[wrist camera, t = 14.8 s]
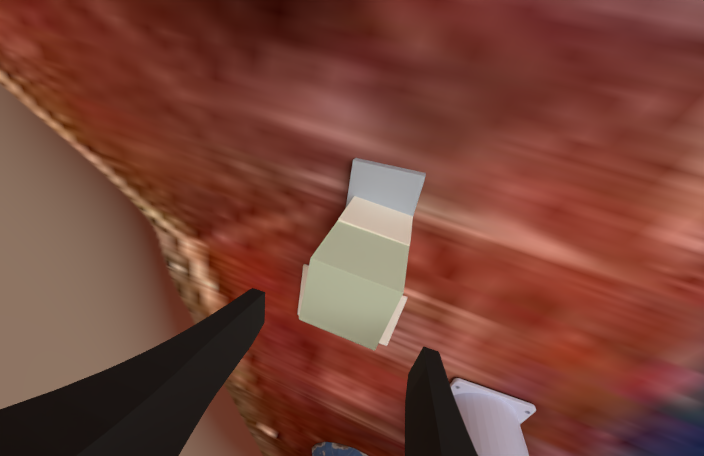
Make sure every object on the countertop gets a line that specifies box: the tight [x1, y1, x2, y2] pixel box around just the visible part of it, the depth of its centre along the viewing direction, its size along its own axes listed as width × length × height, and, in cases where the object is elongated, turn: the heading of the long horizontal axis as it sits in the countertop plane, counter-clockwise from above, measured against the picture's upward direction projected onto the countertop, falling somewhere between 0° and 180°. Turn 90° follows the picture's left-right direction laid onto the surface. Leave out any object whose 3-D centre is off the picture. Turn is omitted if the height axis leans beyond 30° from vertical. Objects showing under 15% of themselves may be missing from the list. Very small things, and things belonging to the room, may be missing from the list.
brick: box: [338, 196, 413, 246], centre depth 17 cm, size 4×4×4 cm
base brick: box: [346, 158, 425, 216], centre depth 20 cm, size 10×5×2 cm, turn 171°
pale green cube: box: [299, 221, 409, 350], centre depth 14 cm, size 4×4×4 cm
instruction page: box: [297, 264, 407, 346], centre depth 24 cm, size 7×10×1 cm
